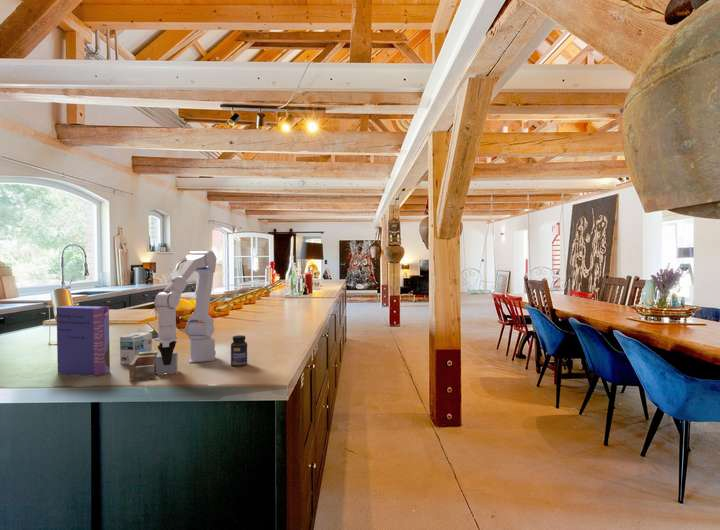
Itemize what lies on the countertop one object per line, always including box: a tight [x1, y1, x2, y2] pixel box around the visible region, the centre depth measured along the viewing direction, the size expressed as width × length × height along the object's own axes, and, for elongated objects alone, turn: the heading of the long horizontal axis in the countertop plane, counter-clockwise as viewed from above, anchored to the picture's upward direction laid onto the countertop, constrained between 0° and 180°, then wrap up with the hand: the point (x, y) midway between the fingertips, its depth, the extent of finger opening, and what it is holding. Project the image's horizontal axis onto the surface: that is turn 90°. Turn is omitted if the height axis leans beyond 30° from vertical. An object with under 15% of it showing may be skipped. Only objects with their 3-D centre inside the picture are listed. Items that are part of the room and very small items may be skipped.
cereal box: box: [56, 305, 111, 377], centre depth 146 cm, size 17×5×24 cm, turn 78°
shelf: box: [128, 350, 159, 382], centre depth 145 cm, size 7×15×6 cm, turn 21°
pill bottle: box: [230, 335, 248, 367], centre depth 156 cm, size 6×6×11 cm
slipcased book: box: [155, 352, 179, 375], centre depth 146 cm, size 7×4×6 cm, turn 111°
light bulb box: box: [119, 331, 153, 365], centre depth 163 cm, size 11×7×11 cm, turn 172°
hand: (167, 363), depth 146 cm, fingers open, 4 cm apart
